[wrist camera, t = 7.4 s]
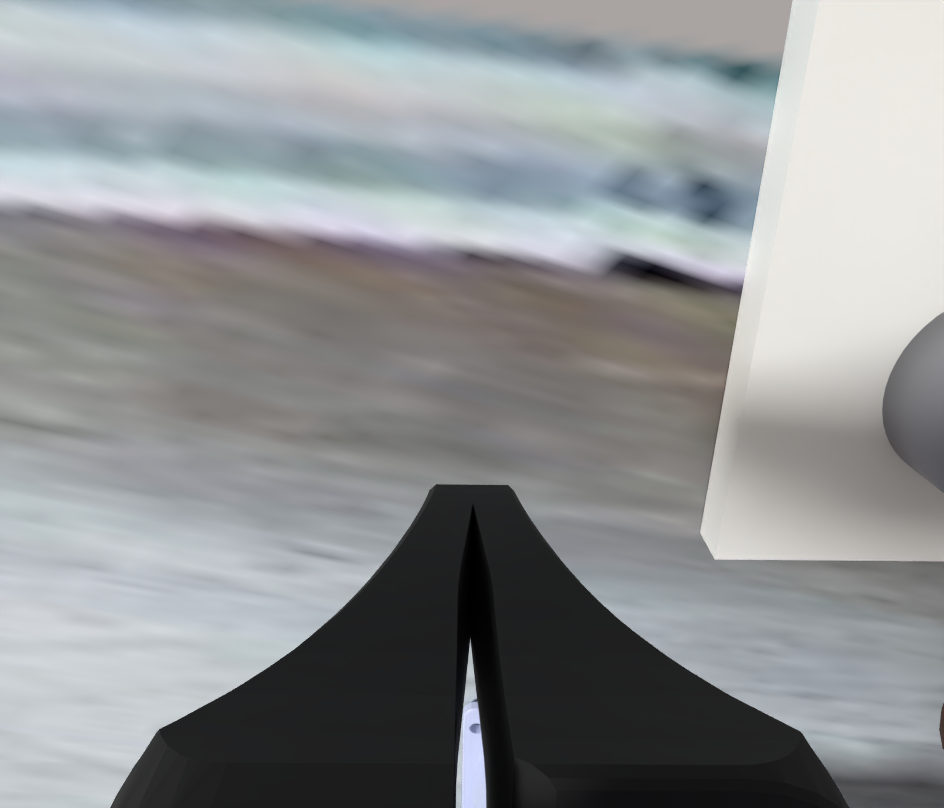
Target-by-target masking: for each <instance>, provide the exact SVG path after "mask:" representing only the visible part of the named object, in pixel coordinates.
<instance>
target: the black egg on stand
mask: <svg viewBox="0 0 944 808" xmlns="http://www.w3.org/2000/svg"><path fill="white" fill-rule="evenodd" d="M939 730H940V735H941V741H942V747H943V749H944V704H943V707H942V711H941V719H940V728H939Z"/></svg>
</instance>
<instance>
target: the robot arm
mask: <svg viewBox="0 0 944 808" xmlns="http://www.w3.org/2000/svg"><path fill="white" fill-rule="evenodd" d="M470 638H471V647H472V656H473V666H474V675H475V683H476V692H477V701H478V702H471V703H469V704H467V705H466V707H465V708H464V711H463V703H464V693H465V684H466V674H467V664H468V654H469V645H470ZM462 712H463V772H462V808H849V807H848V805H847V804H846V802H845V800H844V798H843V796H842V794H841V793H840V791H839V789H838V788H837V786H836V784H835V783H834V781H833V779H832V778H831V776H830V774H829V773H828V771H827V770H826V768H825V767H824V765H823V764H822V762H821V761H820V760H819V758H818V757H817V755H816V754H815V752H814V751H813V750H812V748H811V747H810V745H809V744H808V742H807V741H806V739H805V737H804V736H803V734H802V733H801V732H800V731H798V730H796V729H794V728H792V727H790V726H788V725H786V724H784V723H783V722H781V721H779V720H777V719H775V718H773V717H771V716H769V715H767V714H765V713H763V712H761V711H759V710H757V709H755V708H753V707H751V706H749V705H747V704H745V703H743V702H742V701H740V700H738V699H736V698H734V697H732V696H730V695H728V694H726V693H725V692H723V691H721V690H720V689H718V688H716V687H715V686H713V685H711V684H710V683H708V682H707V681H705V680H703V679H702V678H700V677H698V676H697V675H695V674H693V673H692V672H690V671H688V670H687V669H685V668H684V667H682V666H681V665H679V664H678V663H676V662H675V661H673V660H672V659H670V658H669V657H667V656H666V655H665V654H663V653H662V652H660V651H659V650H658V649H656V648H655V647H654V646H652V645H651V644H650V643H648V642H647V641H646V640H644V639H643V638H642V637H640V636H639V635H638V634H636V633H635V632H634V631H632V630H631V629H630V628H629V627H627V626H626V625H625V624H624V623H623V622H621V621H620V620H619V619H618V618H617V617H615V616H614V615H613V614H612V613H611V612H610V611H609V610H608V609H607V608H606V607H604V606H603V605H602V604H601V603H600V602H599V601H598V600H597V599H596V598H595V597H594V596H593V595H592V594H591V593H590V592H589V591H588V590H587V589H586V588H585V587H584V586H583V585H582V584H581V583H580V581H579V580H578V579H577V578H576V577H575V576H574V575H573V574H572V572H571V571H570V570H569V569H568V568H567V567H566V566H565V564H564V563H563V562H562V561H561V560H560V558H559V557H558V556H557V555H556V553H555V552H554V551H553V549H552V548H551V547H550V546H549V544H548V543H547V542H546V540H545V539H544V538H543V536H542V535H541V534H540V532H539V531H538V529H537V528H536V527H535V525H534V524H533V522H532V521H531V519H530V518H529V516H528V515H527V513H526V511H525V510H524V508H523V507H522V505H521V503H520V501H519V500H518V498H517V496H516V494H515V492H514V491H513V490H512V489H511V488H510V487H509V486H508V485H440V484H436V485H435V486H434V487H433V488H432V489H430V490H429V493H428V496H427V498H426V500H425V502H424V504H423V506H422V508H421V509H420V511H419V513H418V514H417V516H416V518H415V519H414V521H413V523H412V524H411V526H410V527H409V529H408V530H407V532H406V533H405V534H404V536H403V537H402V539H401V540H400V542H399V543H398V545H397V546H396V547H395V549H394V550H393V551H392V553H391V554H390V555H389V557H388V558H387V559H386V560H385V561H384V563H383V564H382V565H381V566H380V567H379V569H378V570H377V571H376V572H375V574H374V575H373V576H372V577H371V578H370V580H369V581H368V582H367V583H366V584H365V585H364V586H363V587H362V588H361V590H360V591H359V592H358V593H357V594H356V595H355V596H354V597H353V598H352V599H351V600H350V601H349V602H348V603H347V604H346V605H345V606H344V607H343V608H342V609H341V610H340V611H339V612H338V613H337V614H336V615H334V616H333V617H332V618H331V619H330V620H329V621H328V622H327V623H325V624H324V625H323V626H322V627H321V628H320V629H318V630H317V631H316V632H315V633H314V634H313V635H311V636H310V637H309V638H308V639H307V640H305V641H304V642H303V643H302V644H300V645H299V646H298V647H297V648H295V649H294V650H293V651H291V652H290V653H289V654H287V655H286V656H284V657H283V658H281V659H280V660H279V661H277V662H276V663H274V664H273V665H271V666H270V667H268V668H267V669H265V670H264V671H262V672H261V673H259V674H258V675H256V676H254V677H253V678H251V679H250V680H248V681H247V682H245V683H244V684H242V685H240V686H239V687H237V688H235V689H234V690H232V691H230V692H228V693H227V694H225V695H223V696H221V697H219V698H218V699H216V700H214V701H212V702H210V703H208V704H207V705H205V706H203V707H201V708H199V709H197V710H195V711H194V712H192V713H190V714H188V715H186V716H184V717H182V718H181V719H179V720H177V721H175V722H173V723H171V724H169V725H167V726H165V727H163V728H161V729H159V730H158V731H157V733H156V734H155V736H154V737H153V739H152V741H151V742H150V744H149V745H148V747H147V748H146V750H145V752H144V753H143V755H142V756H141V758H140V759H139V760H138V762H137V763H136V765H135V766H134V768H133V769H132V771H131V772H130V774H129V776H128V777H127V779H126V781H125V782H124V784H123V785H122V787H121V789H120V790H119V792H118V794H117V796H116V797H115V799H114V801H113V803H112V805H111V807H110V808H456V778H457V762H458V751H459V741H460V731H461V722H462ZM476 723H477V724H479V725H473V724H476Z"/></svg>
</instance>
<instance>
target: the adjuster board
mask: <svg viewBox="0 0 944 808" xmlns="http://www.w3.org/2000/svg"><path fill="white" fill-rule="evenodd" d="M700 533H701V535H702V537H703V539H704V541H705V542H706V544H707V546H708V548H709V550H710V552H711V553H712V555H713V557H714V559H734V560H849V561H944V0H793V2H792V8H791V14H790V20H789V25H788V31H787V37H786V43H785V48H784V54H783V60H782V66H781V71H780V77H779V83H778V89H777V94H776V100H775V106H774V112H773V117H772V123H771V129H770V135H769V140H768V146H767V152H766V158H765V163H764V169H763V175H762V181H761V186H760V192H759V198H758V204H757V209H756V215H755V221H754V227H753V232H752V238H751V244H750V250H749V255H748V261H747V267H746V273H745V278H744V284H743V290H742V296H741V301H740V307H739V313H738V319H737V324H736V330H735V336H734V342H733V347H732V353H731V359H730V365H729V370H728V376H727V382H726V388H725V393H724V399H723V405H722V411H721V416H720V422H719V428H718V434H717V439H716V445H715V451H714V457H713V462H712V468H711V474H710V480H709V485H708V491H707V497H706V503H705V508H704V514H703V520H702V526H701V531H700Z"/></svg>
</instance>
